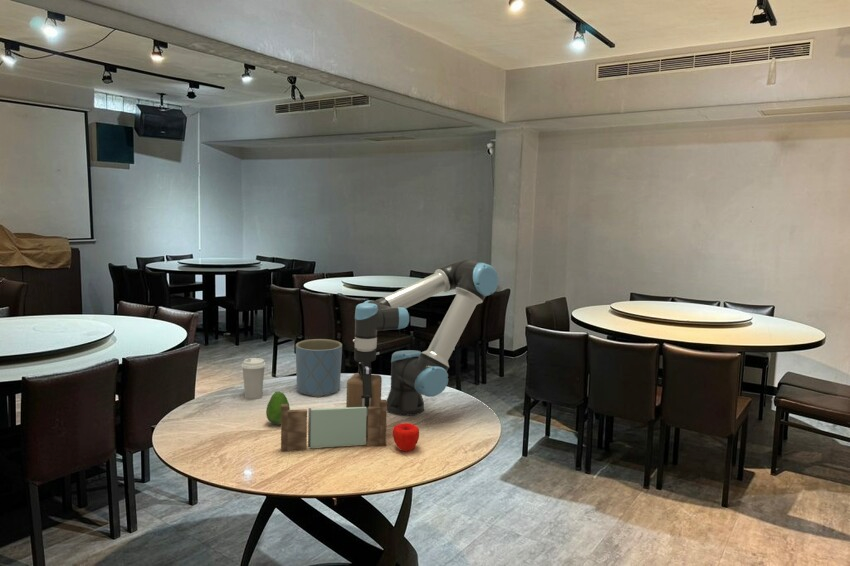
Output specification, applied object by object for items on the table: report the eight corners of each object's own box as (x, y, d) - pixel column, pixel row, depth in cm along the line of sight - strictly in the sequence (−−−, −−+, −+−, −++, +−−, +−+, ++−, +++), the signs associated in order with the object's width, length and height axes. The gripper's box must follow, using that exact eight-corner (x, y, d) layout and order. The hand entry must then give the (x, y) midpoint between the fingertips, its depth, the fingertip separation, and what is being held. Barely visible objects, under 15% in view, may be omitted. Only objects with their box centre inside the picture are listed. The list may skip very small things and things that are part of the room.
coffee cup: (247, 391, 237) (247, 356, 235) (269, 393, 236) (269, 358, 234) (236, 399, 228) (236, 362, 226) (259, 401, 227) (259, 364, 225)
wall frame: (384, 442, 193) (385, 399, 191) (385, 445, 191) (387, 402, 189) (281, 448, 185) (281, 403, 183) (280, 451, 183) (281, 406, 181)
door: (365, 443, 191) (366, 405, 189) (365, 444, 190) (366, 406, 188) (308, 446, 187) (308, 407, 185) (308, 447, 185) (308, 409, 184)
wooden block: (372, 440, 195) (374, 383, 192) (344, 436, 197) (345, 380, 194) (380, 428, 205) (382, 374, 202) (353, 425, 206) (355, 371, 204)
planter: (319, 401, 230) (320, 352, 227) (285, 391, 240) (285, 344, 237) (350, 389, 246) (351, 343, 243) (317, 380, 256) (318, 336, 253)
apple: (393, 442, 194) (393, 420, 192) (419, 443, 193) (420, 421, 192) (390, 454, 185) (391, 430, 184) (418, 455, 184) (419, 432, 183)
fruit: (272, 418, 210) (272, 386, 208) (293, 421, 209) (293, 389, 207) (262, 426, 202) (262, 393, 201) (283, 429, 201) (283, 396, 199)
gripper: (350, 340, 207) (349, 397, 210) (358, 358, 184) (356, 422, 187) (371, 339, 209) (369, 396, 212) (381, 358, 185) (379, 421, 188)
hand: (363, 409), depth 199 cm, fingers closed on wooden block, 12 cm apart
